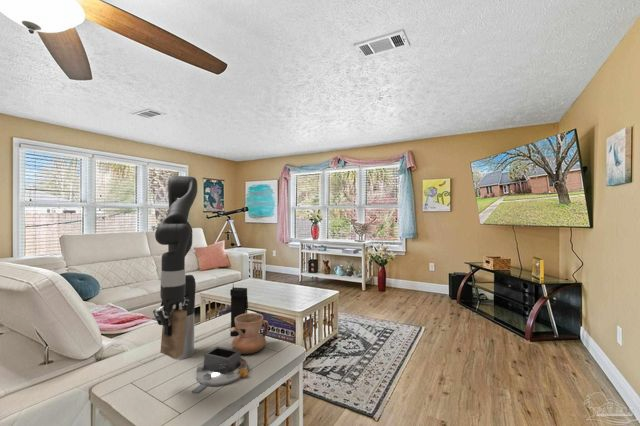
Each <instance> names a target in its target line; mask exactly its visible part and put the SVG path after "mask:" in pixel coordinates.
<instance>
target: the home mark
mask: <svg viewBox="0 0 640 426" xmlns="http://www.w3.org/2000/svg"><path fill="white" fill-rule="evenodd" d="M206 388H207V385H203V384H201V383H200V384H199V385H198V386H196V387H195V388H193V389H192V391H191V392H192V393H193V394H199V393H201V392H202V391H203V390H205V389H206Z"/></svg>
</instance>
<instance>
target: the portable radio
mask: <svg viewBox="0 0 640 426" xmlns="http://www.w3.org/2000/svg"><path fill="white" fill-rule="evenodd" d="M234 285H235V284H234V283H232V288H231V289H230V329H231V328H232V327H236V326H235V317H237V316H239V315H241V314H246V313H248V309H249V301H248V288H247V287H236V286H235V287H234ZM229 333H230V334H229V335H230V337H234V338H236V337H237V336H238V335H239V333H238V332H237V331H233V332H231V331H230V330H229Z"/></svg>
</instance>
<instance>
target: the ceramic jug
mask: <svg viewBox="0 0 640 426" xmlns="http://www.w3.org/2000/svg"><path fill="white" fill-rule="evenodd" d="M262 325H264V329H263V333H262V334H261V333H260V331H261V328H262ZM235 326H236V327H232V328H231V327H230V329H229V332H230V331H231V332H233V331H237V332H238V333H239V335H238V336H237V337H234V338H233V340H232V342H231V348H232V349H231V350H236V351H241V355H243V354H244V355H249V354H250V355H252V354H254V353H257V352H260V351H261V350H262V349H264V348H265V346H266V343H267V340H266V336H267V333H268V330H269V322H268V320H265V319H264V316H263V314H261V313H257V312H249V313H248V312H247V313H246V314H241V315H239V316H237V317H235Z"/></svg>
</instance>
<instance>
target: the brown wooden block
mask: <svg viewBox="0 0 640 426" xmlns="http://www.w3.org/2000/svg"><path fill="white" fill-rule="evenodd" d="M167 315H169V314H167ZM169 316H170V315H169ZM186 316H187V311H184V310H181V309H180V310H178V309H177V310H175V311H174V312H173V318H172V324H171V325H172V336H171V337H167V336H165V334H164V326H163V325H162V328H161V329H162V330H161V339H160V340H161V341H160V342H161V343H160V354H163V355H164V356H165V355H166V356H168V357H170V358H171V357H173V358H175V359H174V360H177V359H176V358H178V357H180V356H182V355H183V349H184V338H185V327H186ZM167 322H168V320H167Z"/></svg>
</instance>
